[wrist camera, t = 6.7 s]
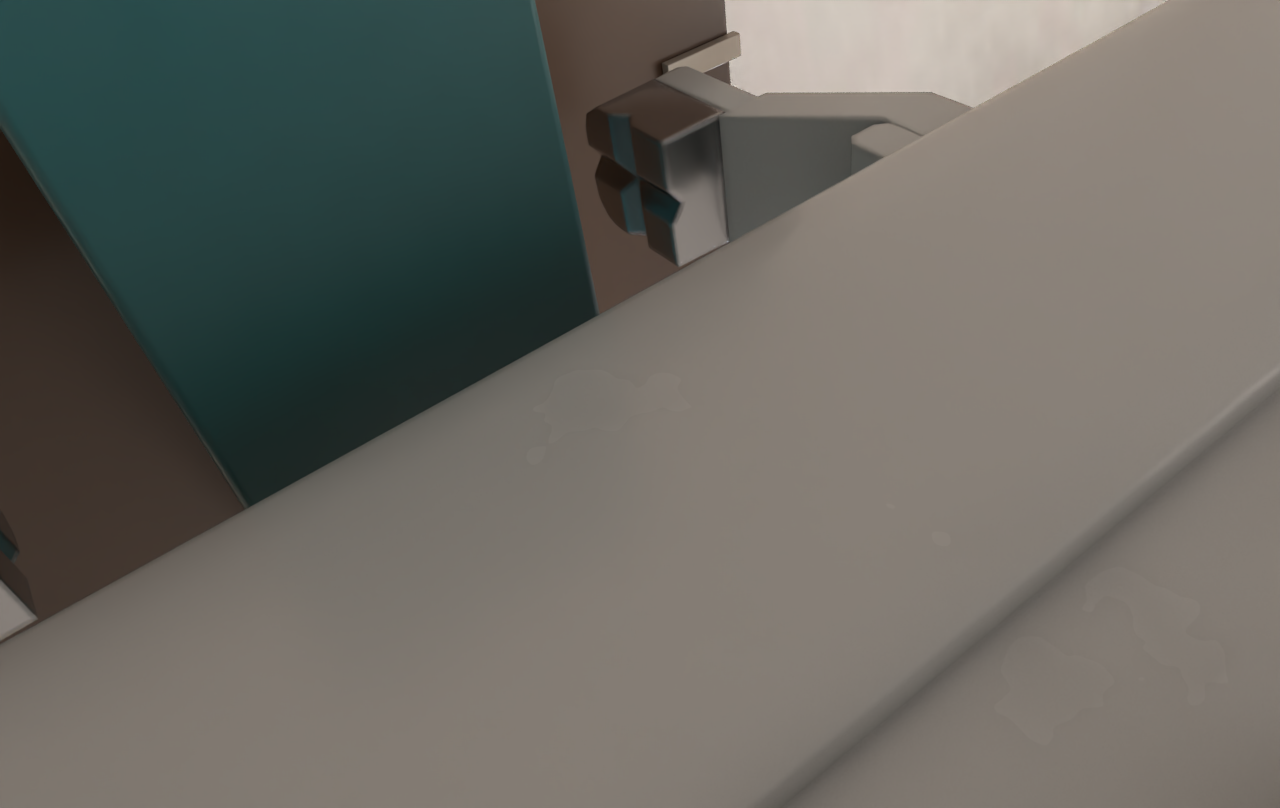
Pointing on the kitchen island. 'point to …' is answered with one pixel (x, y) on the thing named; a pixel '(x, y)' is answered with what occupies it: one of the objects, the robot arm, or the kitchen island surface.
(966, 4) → the kitchen island surface
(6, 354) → the brown wooden base board
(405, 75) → the teal rectangular block
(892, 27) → the kitchen island surface
